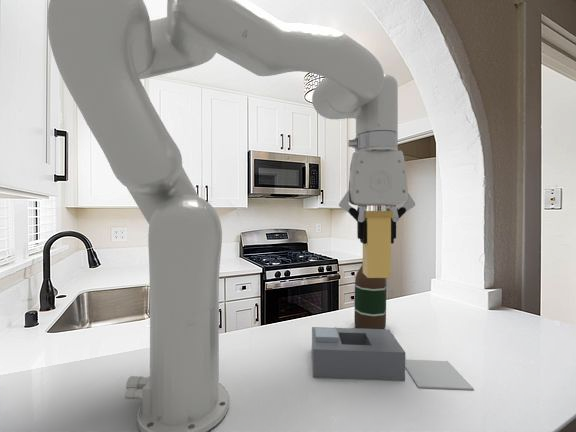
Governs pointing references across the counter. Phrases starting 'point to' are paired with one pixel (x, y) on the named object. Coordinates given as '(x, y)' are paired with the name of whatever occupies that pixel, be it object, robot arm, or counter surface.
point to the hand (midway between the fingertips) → (376, 241)
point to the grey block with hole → (357, 354)
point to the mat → (436, 375)
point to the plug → (377, 245)
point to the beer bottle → (370, 302)
